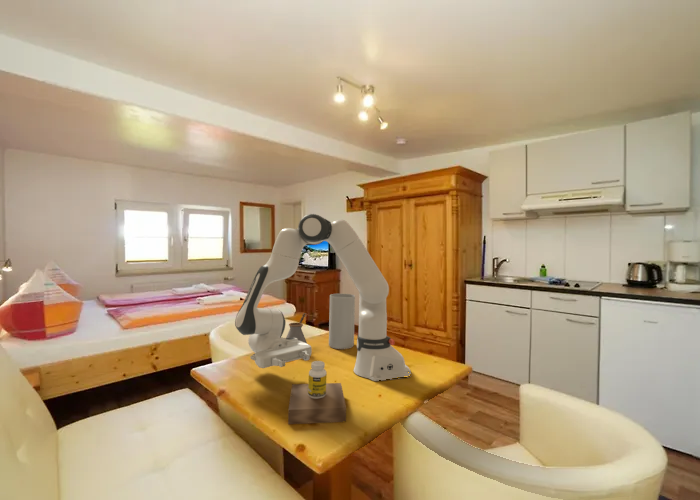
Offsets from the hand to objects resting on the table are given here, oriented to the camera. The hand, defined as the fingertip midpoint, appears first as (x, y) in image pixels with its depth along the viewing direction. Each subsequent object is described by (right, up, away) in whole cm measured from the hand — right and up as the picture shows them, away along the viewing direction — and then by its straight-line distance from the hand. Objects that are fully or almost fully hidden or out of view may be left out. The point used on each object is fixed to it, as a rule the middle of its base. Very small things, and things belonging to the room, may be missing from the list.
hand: (296, 361), depth 105 cm
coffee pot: (-7, -11, +47) cm, 49 cm away
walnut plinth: (+8, -11, -9) cm, 16 cm away
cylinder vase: (+14, -11, +52) cm, 55 cm away
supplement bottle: (+8, -7, -9) cm, 14 cm away
